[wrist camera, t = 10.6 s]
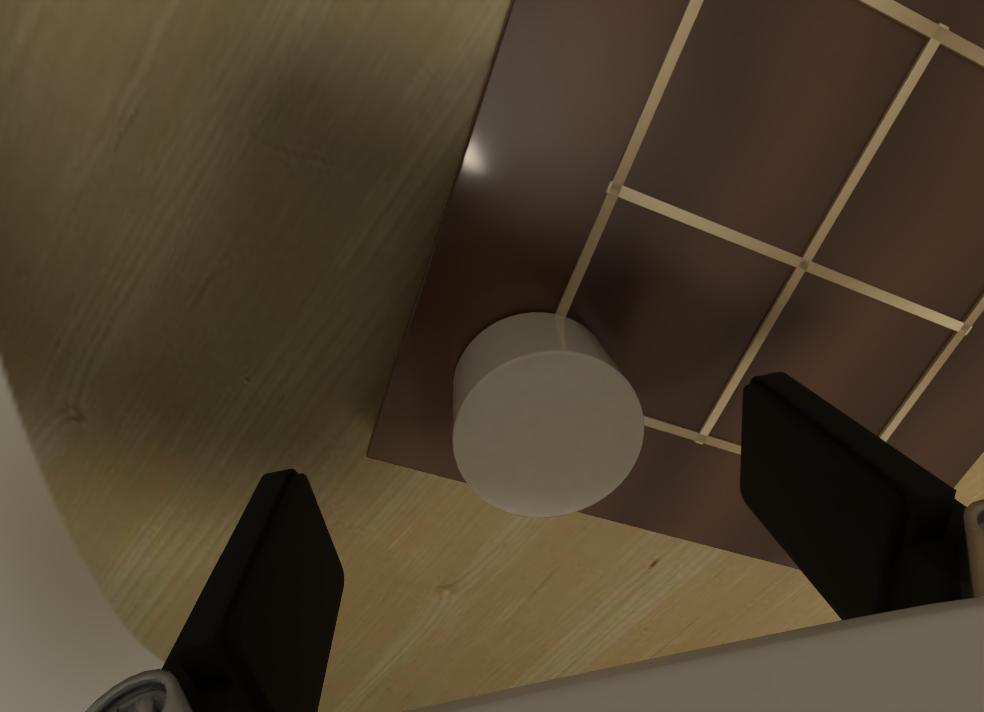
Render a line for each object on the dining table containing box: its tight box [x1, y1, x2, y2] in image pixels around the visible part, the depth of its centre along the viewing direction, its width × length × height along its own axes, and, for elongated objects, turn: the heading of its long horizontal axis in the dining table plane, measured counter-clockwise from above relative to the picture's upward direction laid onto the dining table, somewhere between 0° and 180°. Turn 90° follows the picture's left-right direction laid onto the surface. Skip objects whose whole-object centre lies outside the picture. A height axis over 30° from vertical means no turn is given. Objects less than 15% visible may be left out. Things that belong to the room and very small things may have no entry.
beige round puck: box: [453, 312, 644, 518], centre depth 14 cm, size 5×5×3 cm
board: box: [366, 0, 984, 569], centre depth 15 cm, size 20×20×2 cm
